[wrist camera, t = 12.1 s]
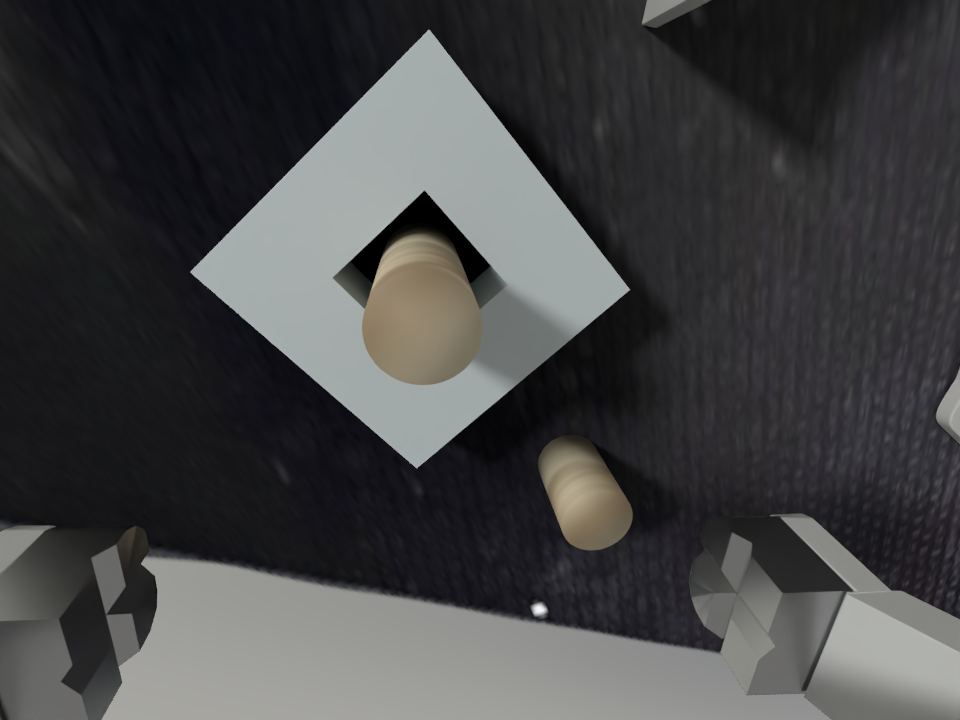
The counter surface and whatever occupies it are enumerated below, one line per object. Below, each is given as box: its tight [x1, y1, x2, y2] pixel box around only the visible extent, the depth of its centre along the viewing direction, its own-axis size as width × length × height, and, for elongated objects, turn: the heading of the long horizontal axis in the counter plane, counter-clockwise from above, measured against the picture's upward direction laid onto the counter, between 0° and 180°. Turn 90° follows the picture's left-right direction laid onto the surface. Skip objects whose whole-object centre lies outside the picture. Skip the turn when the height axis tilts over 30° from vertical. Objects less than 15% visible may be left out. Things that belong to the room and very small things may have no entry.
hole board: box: [190, 30, 630, 468], centre depth 26 cm, size 14×14×5 cm
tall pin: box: [362, 223, 483, 385], centre depth 23 cm, size 4×4×12 cm
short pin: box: [538, 435, 633, 550], centre depth 32 cm, size 4×4×6 cm
